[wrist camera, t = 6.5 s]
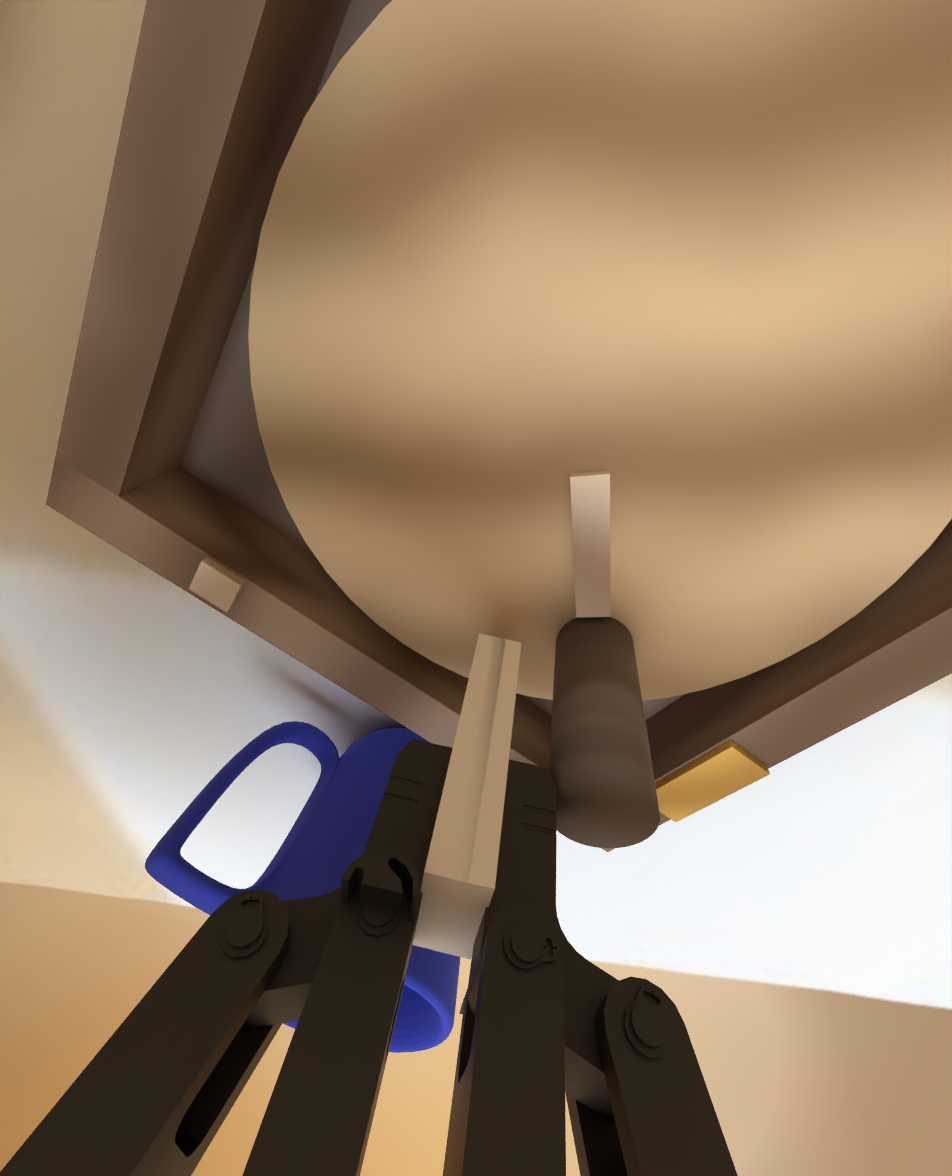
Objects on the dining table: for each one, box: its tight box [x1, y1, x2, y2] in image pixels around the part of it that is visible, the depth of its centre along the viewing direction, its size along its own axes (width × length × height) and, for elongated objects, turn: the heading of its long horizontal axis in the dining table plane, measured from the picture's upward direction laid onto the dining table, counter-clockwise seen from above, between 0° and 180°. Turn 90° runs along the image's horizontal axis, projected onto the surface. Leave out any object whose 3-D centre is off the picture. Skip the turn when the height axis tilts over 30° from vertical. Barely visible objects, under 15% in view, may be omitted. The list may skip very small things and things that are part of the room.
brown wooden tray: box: [46, 0, 952, 852], centre depth 14 cm, size 24×24×4 cm
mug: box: [145, 721, 460, 1052], centre depth 21 cm, size 8×12×10 cm
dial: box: [248, 0, 952, 848], centre depth 11 cm, size 18×18×8 cm
